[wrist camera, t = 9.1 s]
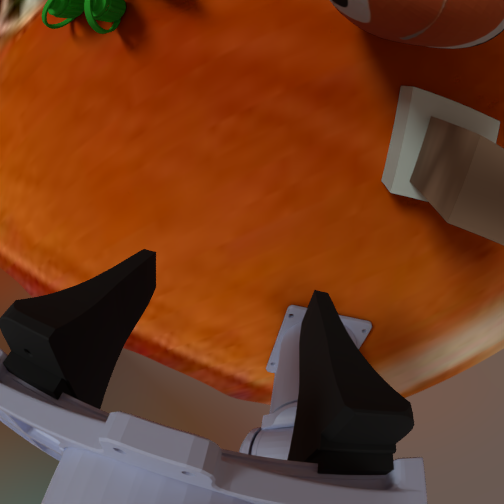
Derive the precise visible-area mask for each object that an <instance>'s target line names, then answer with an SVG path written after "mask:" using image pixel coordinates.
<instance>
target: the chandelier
mask: <svg viewBox="0 0 504 504" xmlns="http://www.w3.org/2000/svg"><path fill="white" fill-rule="evenodd" d="M108 5H109V6H108ZM74 7H75V8H74ZM80 8H81V9H80ZM106 9H107V10H106ZM84 10H85V16H86V19H87V21H88V23H89V25H90V26H91V28H92V29H93V30H94V31H96V32H97V33H100V34H105V33H109V32H112V31H114V30H115V29H116V28H117V27H118V25H119V24H120V21H121V17H122V16H123V15H124V13H125V10H126V3H125V1H124V0H48V1H47V2H46V4H45V6H44V8H43V11H42V21H43V23H44V24H45V25H46V26H47V27H49V28H52V29H56V28H60V27H63V26H65V25H67V24H68V23H70V22H71V21H73V20H74V19H75V18H76V17H78V16H79V15H81V13H82V12H83V11H84ZM47 12H49V14H51V15H54V16H55V17H60V18H68V19H66V20H64V21H63V22H61V23H58V24H48V23H47ZM95 20H99V21H105V22H113V21H114V23H113V25H112V27H111V28H110V29H109V30H105V29H103V28H101V27H100V26H99V25H98V24H97V22H96V21H95Z"/></svg>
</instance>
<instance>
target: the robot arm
mask: <svg viewBox="0 0 504 504" xmlns="http://www.w3.org/2000/svg"><path fill="white" fill-rule="evenodd" d="M155 288H156V252H153V251H149V250H146V249H143V250H141V251H139V252H138V253H136V254H134V255H133V256H131V257H129V258H128V259H126V260H124V261H123V262H121V263H119V264H118V265H116V266H114V267H113V268H111V269H109V270H107V271H105V272H103V273H101V274H100V275H98V276H96V277H94V278H92V279H90V280H88V281H85V282H83V283H81V284H78V285H76V286H73V287H70V288H67V289H64V290H61V291H59V292H55V293H52V294H48V295H44V296H39V297H34V298H28V299H21V300H16V301H15V302H14V303H13V304H12V305H11V306H10V307H9V308H8V310H7V311H6V312H5V313H4V314H3V315H2V316H1V318H0V329H1V331H2V334H3V336H4V338H5V339H6V341H7V343H8V345H9V347H10V349H11V352H10V353H9V355H7V354H6V353H5V352H4V351H3V350H1V349H0V421H1V422H2V423H4V424H5V425H7V426H8V427H9V428H11V429H12V430H13V431H15V432H16V433H17V434H19V435H20V436H22V437H23V438H24V439H26V440H28V441H29V442H30V443H32V444H33V445H35V446H36V447H38V448H39V449H41V450H42V451H44V452H45V453H47V454H49V455H50V456H52V457H54V458H55V459H57V460H58V461H60V462H59V464H58V467H57V469H56V471H55V473H54V475H53V477H52V480H51V482H50V484H49V487H48V489H47V491H46V494H45V496H44V498H43V501H42V503H41V504H427V492H426V481H425V471H424V463H423V458H422V457H413V458H399V459H395V460H393V453H395V452H396V443H397V442H398V441H400V440H401V439H402V438H403V437H405V436H406V435H407V434H408V433H409V432H410V431H411V430H412V429H413V426H414V420H413V412H412V408H411V404H410V402H409V401H407V400H406V399H405V398H404V397H403V396H401V395H400V394H399V393H398V392H396V391H395V390H394V389H393V388H392V387H391V386H390V385H389V384H388V383H387V382H385V381H384V380H383V378H382V377H381V376H380V375H379V374H378V373H377V372H376V371H375V370H374V369H373V368H372V366H371V365H370V364H369V363H368V362H367V360H366V359H365V358H364V356H363V355H362V354H361V352H360V351H359V348H360V347H361V345H362V343H363V342H364V340H365V338H366V337H367V335H368V333H369V332H370V330H371V328H372V324H371V322H370V321H366V320H361V319H356V318H351V317H346V316H341V315H338V313H337V311H336V309H335V307H334V305H333V302H332V300H331V298H330V296H329V294H328V293H326V292H321V291H317V290H314V293H313V295H312V298H311V300H310V303H309V305H308V308H305V307H300V306H296V305H291V306H289V307H288V308H287V311H286V314H285V317H284V320H283V323H282V325H281V328H280V331H279V334H278V337H277V339H276V342H275V345H274V348H273V350H272V353H271V356H270V358H269V361H268V364H267V367H266V370H267V371H268V372H271V373H275V378H274V385H273V392H272V399H271V406H270V413H269V414H268V415H264V416H263V420H262V427H257V428H254V429H252V430H251V431H250V432H249V433H248V434H247V436H246V438H245V439H244V441H243V443H242V445H241V448H240V451H239V452H234V451H230V450H225V449H221V448H220V447H219V446H218V445H217V444H216V443H214V442H213V441H211V440H209V439H207V438H205V437H202V436H199V435H196V434H193V433H189V432H186V431H182V430H179V429H175V428H172V427H169V426H165V425H162V424H159V423H156V422H153V421H150V420H147V419H144V418H141V417H139V416H136V415H133V414H129V413H126V412H122V411H118V412H111V413H107V412H105V411H102V410H100V408H101V404H102V401H103V398H104V394H105V392H106V389H107V386H108V383H109V380H110V377H111V375H112V372H113V370H114V367H115V364H116V362H117V360H118V357H119V355H120V353H121V350H122V348H123V346H124V344H125V342H126V340H127V339H128V337H129V335H130V334H131V332H132V330H133V329H134V327H135V325H136V324H137V322H138V321H139V319H140V317H141V316H142V314H143V312H144V311H145V309H146V307H147V306H148V304H149V302H150V300H151V297H152V295H153V293H154V290H155ZM289 314H293V315H289ZM364 329H366V330H364Z"/></svg>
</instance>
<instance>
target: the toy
mask: <svg viewBox="0 0 504 504" xmlns="http://www.w3.org/2000/svg"><path fill="white" fill-rule="evenodd" d="M330 1H331V2H332V4H333V5H334V6H335V8H336V9H337V10H338V11H339V12H340V13H341V14H342V15H343V16H345V17H346V18H347V19H348V20H350V21H351V22H352V23H354V24H355V25H356V26H358V27H359V28H361V29H362V30H364V31H366V32H368V33H370V34H372V35H375V36H378V37H380V38H383V39H387V40H391V41H395V42H399V43H405V44H411V45H418V46H426V47H434V48H466V47H472V46H476V45H479V44H482V43H485V42H487V41H489V40H491V39H492V38H494V37H496V36H497V35H498V34H500V33H501V32H502V31H503V30H504V0H330Z"/></svg>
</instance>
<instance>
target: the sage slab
mask: <svg viewBox="0 0 504 504" xmlns="http://www.w3.org/2000/svg"><path fill="white" fill-rule="evenodd" d="M431 116H433V117H435V118H438V119H441V120H444V121H447V122H449V123H452V124H455V125H457V126H460V127H462V128H465V129H467V130H470V131H472V132H475V133H477V134H480V135H482V136H483V137H485V138H487V139H489V140H490V141H492V142H494V143H495V144H496V140H497V136H498V131H499V126H500V121H498V120H496V119H494V118H492V117H490V116H487V115H485V114H483V113H481V112H479V111H476V110H474V109H472V108H470V107H467V106H465V105H462V104H460V103H458V102H455V101H453V100H450V99H447V98H445V97H442V96H439V95H437V94H434V93H431V92H428V91H425V90H422V89H419V88H416V87H413V86H401V87H400V93H399V99H398V105H397V110H396V116H395V121H394V126H393V131H392V136H391V141H390V146H389V150H388V155H387V159H386V164H385V168H384V172H383V176H382V180H381V181H382V182H383V183H384V185H385V186H386V187H387V189H388V190H389V191H390V193H394V194H398V195H402V196H406V197H411V198H415V199H419V200H423V201H427V199H426V198H425V197H424V196H423V195H422V194H421V193H420V192H419V191H418V190H417V189H416V188H415V187H414V186H413V185H412V183H411V182H410V178H411V175H412V173H413V170H414V167H415V164H416V161H417V158H418V155H419V153H420V150H421V147H422V143H423V140H424V137H425V134H426V131H427V128H428V124H429V121H430V118H431ZM427 202H428V201H427Z"/></svg>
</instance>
